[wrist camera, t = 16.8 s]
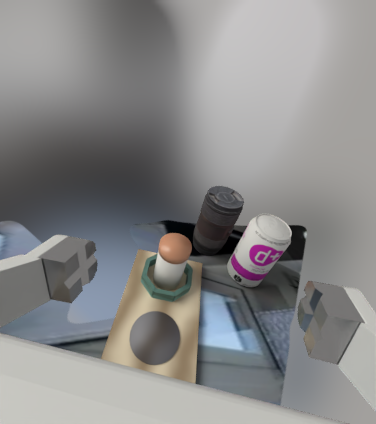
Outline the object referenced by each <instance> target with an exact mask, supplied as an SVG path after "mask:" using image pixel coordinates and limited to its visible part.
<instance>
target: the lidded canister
mask: <svg viewBox="0 0 376 424" xmlns="http://www.w3.org/2000/svg"><path fill="white" fill-rule="evenodd" d="M191 250H192V245H191V242H190V241H189V240H188V239H187V238H186V237H185V236H183V235H181V234H178V233H170V234H166V235H165V236H163V237H162V238H161V240H160V244H159V249H158V255H157V260H156V264H155V269H154V274H153V281H154V283H155V285H156V286H157V287H158V288H160V289H162V290H167V291H169V290H173V289H175V288H176V287H177V286H178V285H179V283H180V280H181V277H182V275H183V272H184V269H185V266H186V263H187V260H188V258H189V256H190V253H191Z"/></svg>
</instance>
